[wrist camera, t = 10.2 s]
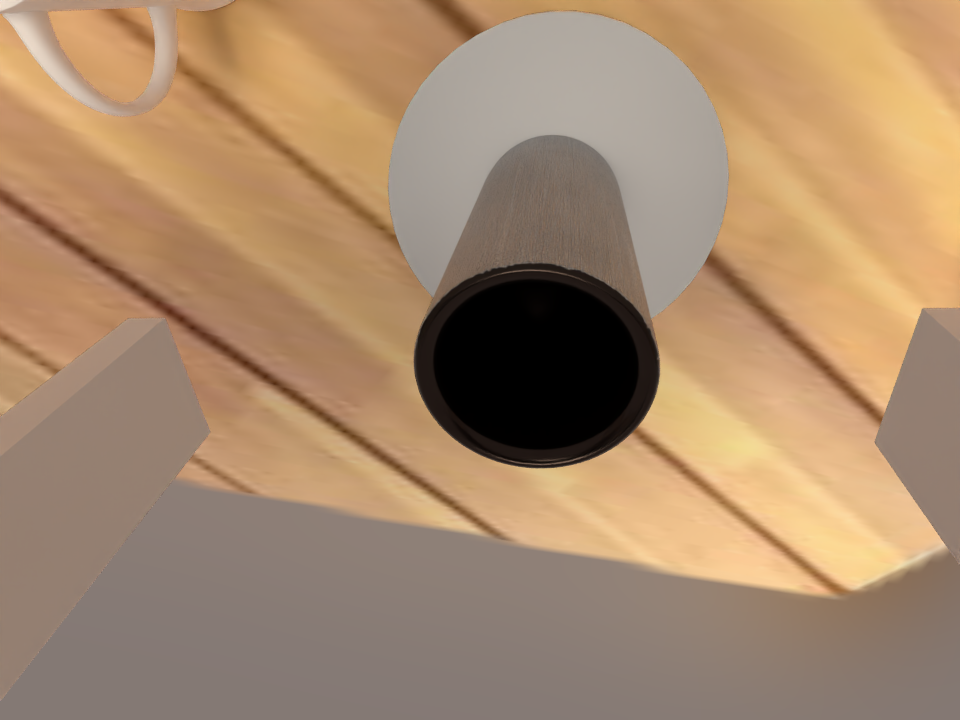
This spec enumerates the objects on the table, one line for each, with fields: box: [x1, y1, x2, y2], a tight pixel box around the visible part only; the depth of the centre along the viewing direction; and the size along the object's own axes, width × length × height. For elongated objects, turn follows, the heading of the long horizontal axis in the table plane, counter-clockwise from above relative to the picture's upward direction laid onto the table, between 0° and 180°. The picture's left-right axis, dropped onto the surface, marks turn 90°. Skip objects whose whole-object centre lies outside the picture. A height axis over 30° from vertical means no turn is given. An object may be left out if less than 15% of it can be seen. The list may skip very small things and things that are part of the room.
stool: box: [388, 11, 729, 319], centre depth 24 cm, size 11×11×10 cm
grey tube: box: [414, 135, 660, 468], centre depth 15 cm, size 4×4×10 cm
